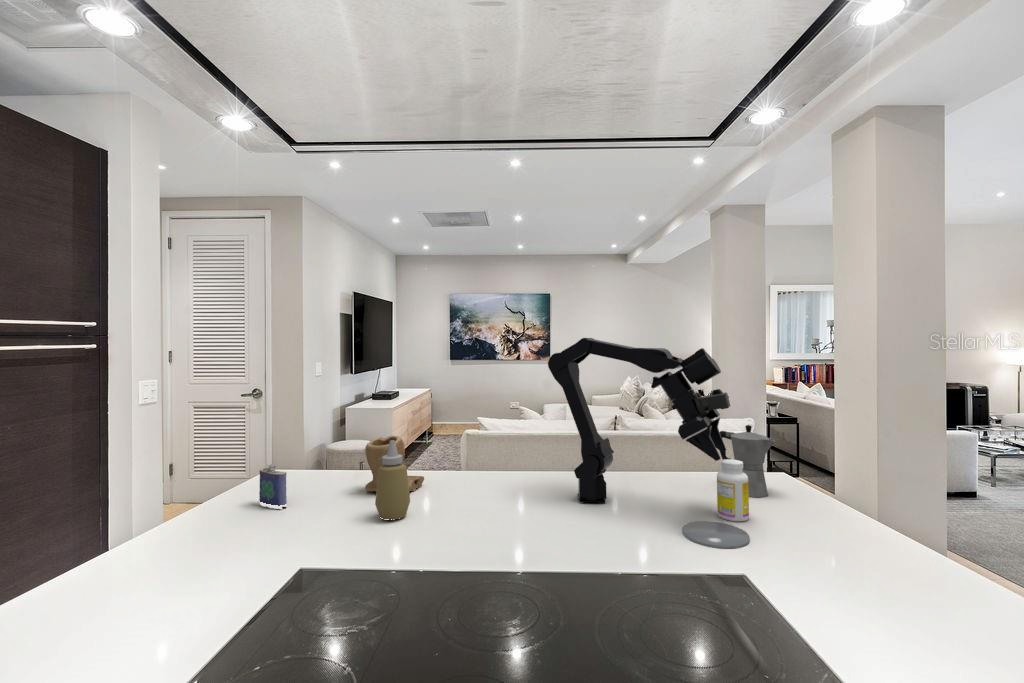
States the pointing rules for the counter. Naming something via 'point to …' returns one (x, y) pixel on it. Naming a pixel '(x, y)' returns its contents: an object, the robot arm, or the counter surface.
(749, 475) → the coffeepot
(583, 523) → the counter surface
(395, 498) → the squeeze bottle
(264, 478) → the flask
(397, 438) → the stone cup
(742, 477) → the supplement bottle
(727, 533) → the slate trivet
